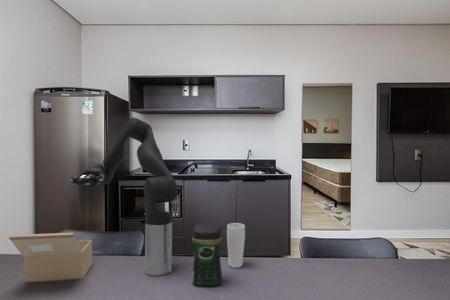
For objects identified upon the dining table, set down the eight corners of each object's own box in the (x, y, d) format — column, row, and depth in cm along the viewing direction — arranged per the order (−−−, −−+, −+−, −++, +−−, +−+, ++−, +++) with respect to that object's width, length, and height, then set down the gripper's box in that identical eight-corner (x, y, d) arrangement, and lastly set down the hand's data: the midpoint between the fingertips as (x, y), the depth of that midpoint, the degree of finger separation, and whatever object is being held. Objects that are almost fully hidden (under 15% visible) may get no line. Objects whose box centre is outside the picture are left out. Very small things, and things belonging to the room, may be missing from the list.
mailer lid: (73, 232, 85) (72, 234, 84) (82, 251, 93) (81, 253, 93) (9, 235, 82) (8, 237, 81) (24, 254, 90) (23, 256, 90)
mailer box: (92, 264, 105) (92, 240, 105) (81, 279, 93) (81, 252, 93) (41, 267, 102) (41, 242, 102) (24, 283, 90) (24, 255, 90)
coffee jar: (222, 276, 96) (222, 222, 96) (221, 288, 89) (221, 228, 88) (193, 275, 97) (194, 221, 97) (190, 287, 89) (190, 228, 89)
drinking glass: (243, 270, 102) (243, 228, 101) (224, 268, 103) (225, 227, 103) (245, 262, 108) (246, 223, 108) (228, 261, 110) (228, 222, 109)
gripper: (76, 169, 124) (61, 172, 107) (108, 168, 126) (98, 172, 109) (76, 186, 124) (61, 192, 107) (108, 185, 126) (98, 192, 109)
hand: (80, 182), depth 108 cm, fingers closed
